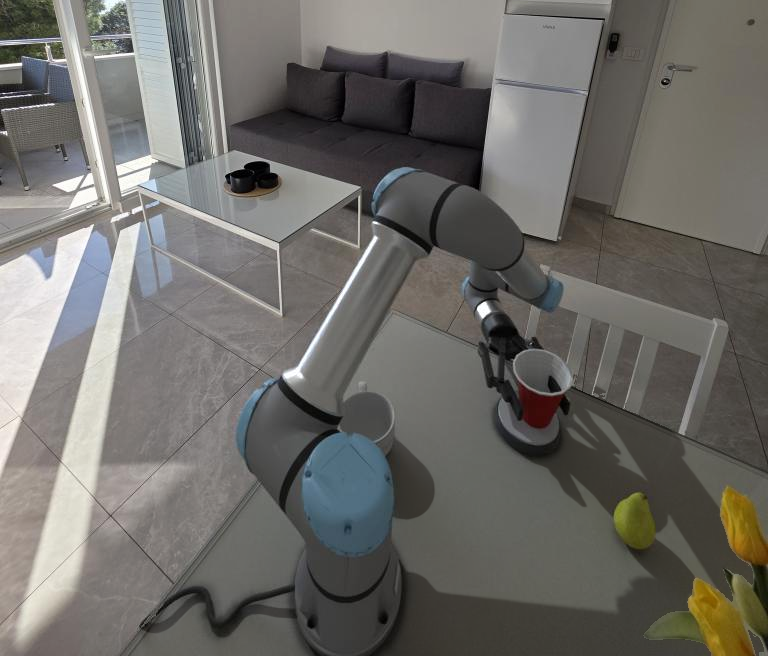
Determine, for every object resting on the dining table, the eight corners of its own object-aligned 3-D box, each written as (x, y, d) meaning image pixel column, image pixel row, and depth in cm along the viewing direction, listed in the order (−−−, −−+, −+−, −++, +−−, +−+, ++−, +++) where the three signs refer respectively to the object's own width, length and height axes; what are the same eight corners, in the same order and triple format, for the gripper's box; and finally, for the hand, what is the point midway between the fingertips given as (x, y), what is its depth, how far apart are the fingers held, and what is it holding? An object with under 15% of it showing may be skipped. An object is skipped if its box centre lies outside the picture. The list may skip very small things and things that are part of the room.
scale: (506, 457, 80) (508, 446, 79) (487, 399, 92) (488, 389, 91) (570, 454, 81) (572, 444, 80) (543, 397, 93) (545, 387, 92)
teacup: (393, 477, 76) (394, 444, 74) (332, 473, 77) (332, 440, 74) (394, 407, 89) (396, 377, 87) (343, 404, 90) (343, 374, 87)
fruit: (637, 516, 71) (653, 465, 68) (658, 560, 66) (677, 507, 62) (602, 516, 71) (617, 465, 68) (621, 559, 66) (638, 506, 62)
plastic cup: (500, 391, 91) (506, 345, 87) (551, 393, 91) (560, 348, 87) (513, 440, 80) (522, 392, 77) (571, 443, 80) (582, 394, 76)
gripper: (536, 334, 103) (593, 420, 82) (451, 342, 100) (487, 434, 79) (541, 308, 101) (600, 390, 80) (453, 315, 98) (491, 403, 76)
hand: (544, 412), depth 79 cm, fingers open, 9 cm apart
